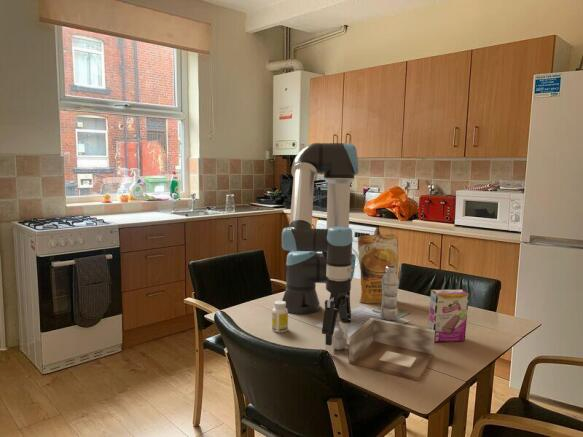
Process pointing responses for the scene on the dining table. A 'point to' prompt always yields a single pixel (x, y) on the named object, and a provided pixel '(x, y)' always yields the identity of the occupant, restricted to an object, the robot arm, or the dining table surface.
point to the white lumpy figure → (339, 338)
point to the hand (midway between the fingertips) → (336, 348)
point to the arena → (392, 348)
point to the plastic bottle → (389, 294)
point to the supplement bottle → (279, 317)
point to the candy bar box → (448, 315)
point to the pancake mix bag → (375, 264)
